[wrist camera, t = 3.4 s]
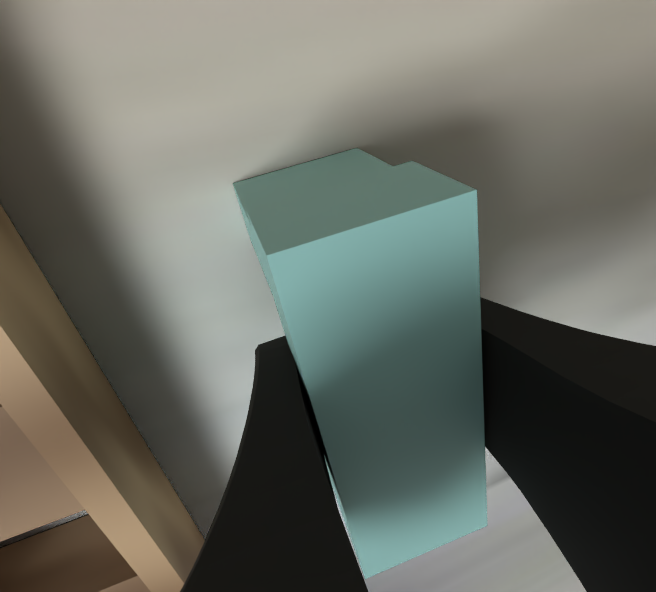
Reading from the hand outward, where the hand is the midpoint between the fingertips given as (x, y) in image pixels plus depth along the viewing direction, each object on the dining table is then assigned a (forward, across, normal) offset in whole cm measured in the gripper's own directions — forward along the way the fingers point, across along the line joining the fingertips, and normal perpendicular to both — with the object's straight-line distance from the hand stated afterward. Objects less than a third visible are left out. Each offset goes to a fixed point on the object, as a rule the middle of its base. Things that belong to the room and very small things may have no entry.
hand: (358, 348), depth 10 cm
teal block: (+2, 0, 0) cm, 2 cm away
